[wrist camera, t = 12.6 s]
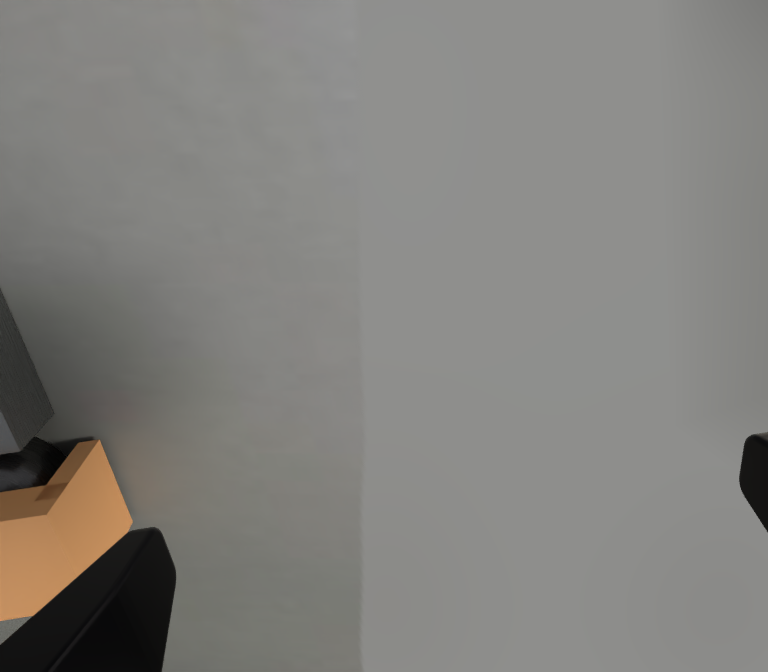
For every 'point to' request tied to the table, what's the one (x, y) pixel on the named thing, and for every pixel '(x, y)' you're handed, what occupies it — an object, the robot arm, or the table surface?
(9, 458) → the tongs fixed
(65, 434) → the table surface
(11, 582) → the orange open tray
